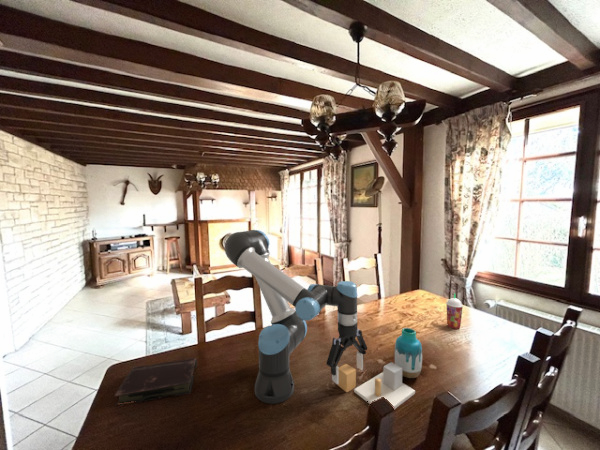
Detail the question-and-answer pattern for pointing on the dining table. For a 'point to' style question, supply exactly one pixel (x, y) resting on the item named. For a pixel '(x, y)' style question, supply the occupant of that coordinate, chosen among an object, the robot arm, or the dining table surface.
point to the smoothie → (454, 312)
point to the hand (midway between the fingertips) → (348, 375)
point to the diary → (157, 381)
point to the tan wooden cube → (347, 377)
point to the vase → (408, 353)
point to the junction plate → (386, 386)
